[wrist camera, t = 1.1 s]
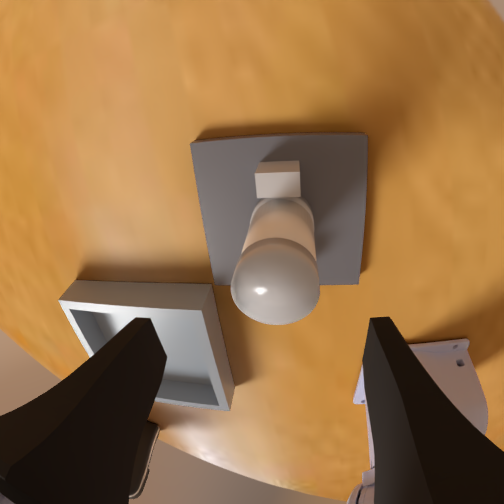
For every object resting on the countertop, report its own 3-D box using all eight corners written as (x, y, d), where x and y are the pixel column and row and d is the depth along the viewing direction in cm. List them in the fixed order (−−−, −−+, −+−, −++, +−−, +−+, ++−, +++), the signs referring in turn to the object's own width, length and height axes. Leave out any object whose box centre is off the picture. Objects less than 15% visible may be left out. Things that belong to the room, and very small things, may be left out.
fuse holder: (364, 132, 15) (377, 143, 12) (356, 276, 19) (363, 305, 17) (194, 140, 16) (176, 152, 14) (217, 277, 21) (207, 305, 18)
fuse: (312, 188, 16) (320, 253, 10) (313, 244, 18) (318, 324, 12) (249, 190, 16) (224, 255, 11) (255, 245, 18) (236, 323, 13)
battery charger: (118, 421, 37) (92, 486, 27) (112, 408, 35) (82, 478, 25) (164, 434, 36) (141, 505, 27) (160, 423, 34) (134, 499, 25)
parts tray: (211, 283, 21) (201, 310, 19) (234, 387, 27) (229, 411, 25) (75, 279, 23) (58, 300, 21) (122, 373, 29) (113, 392, 27)
